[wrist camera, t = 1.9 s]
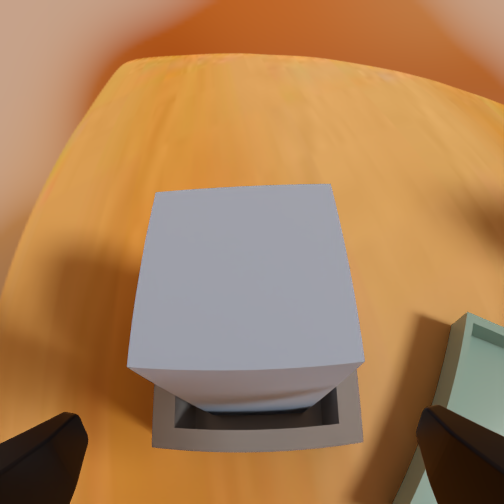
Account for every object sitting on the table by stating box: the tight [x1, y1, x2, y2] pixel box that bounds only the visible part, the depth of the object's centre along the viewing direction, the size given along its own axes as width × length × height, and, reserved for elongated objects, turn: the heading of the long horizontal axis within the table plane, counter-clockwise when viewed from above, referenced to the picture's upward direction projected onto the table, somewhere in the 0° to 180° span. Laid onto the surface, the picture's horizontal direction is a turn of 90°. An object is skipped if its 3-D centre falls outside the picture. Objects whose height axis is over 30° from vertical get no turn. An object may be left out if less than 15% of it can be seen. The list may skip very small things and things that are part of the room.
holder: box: [152, 369, 363, 452], centre depth 16 cm, size 9×9×5 cm
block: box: [127, 184, 365, 415], centre depth 13 cm, size 5×5×12 cm
